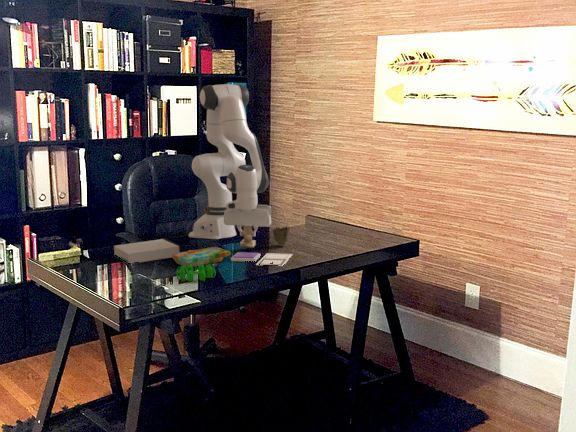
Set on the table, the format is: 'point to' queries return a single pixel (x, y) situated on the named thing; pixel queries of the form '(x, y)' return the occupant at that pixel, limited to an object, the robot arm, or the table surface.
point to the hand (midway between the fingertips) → (247, 235)
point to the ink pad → (245, 256)
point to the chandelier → (191, 273)
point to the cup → (281, 235)
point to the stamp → (247, 238)
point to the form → (274, 259)
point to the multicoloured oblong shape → (201, 256)
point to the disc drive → (147, 250)
